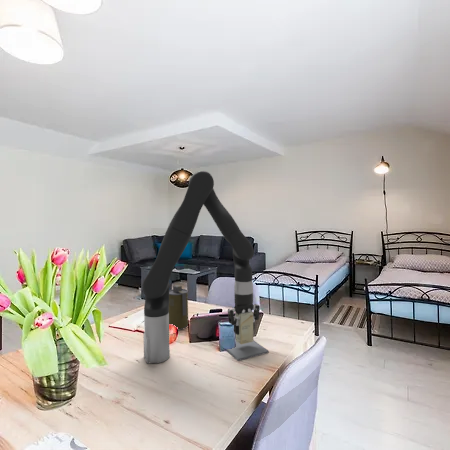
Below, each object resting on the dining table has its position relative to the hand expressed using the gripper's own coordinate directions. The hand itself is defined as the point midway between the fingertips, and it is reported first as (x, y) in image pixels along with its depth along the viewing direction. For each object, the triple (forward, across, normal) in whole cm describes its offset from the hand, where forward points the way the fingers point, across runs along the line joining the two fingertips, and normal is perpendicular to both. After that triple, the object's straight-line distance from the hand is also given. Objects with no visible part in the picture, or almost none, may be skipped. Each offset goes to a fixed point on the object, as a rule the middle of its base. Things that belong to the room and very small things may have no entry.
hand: (244, 332), depth 118 cm
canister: (+7, +16, -37) cm, 41 cm away
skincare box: (+4, 0, 0) cm, 4 cm away
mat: (+7, 0, 0) cm, 7 cm away
